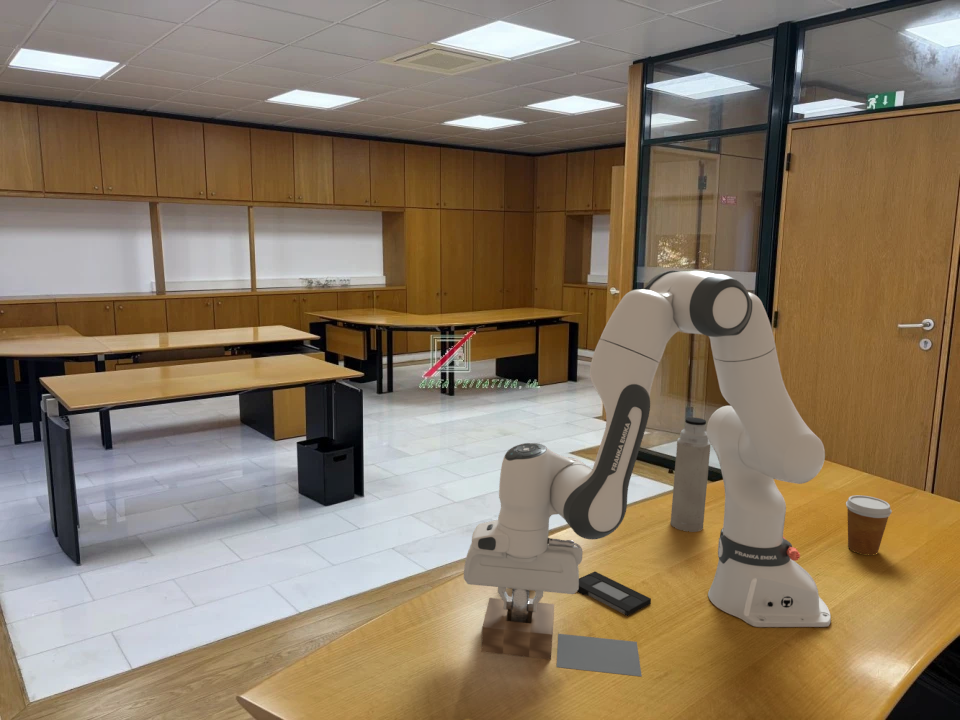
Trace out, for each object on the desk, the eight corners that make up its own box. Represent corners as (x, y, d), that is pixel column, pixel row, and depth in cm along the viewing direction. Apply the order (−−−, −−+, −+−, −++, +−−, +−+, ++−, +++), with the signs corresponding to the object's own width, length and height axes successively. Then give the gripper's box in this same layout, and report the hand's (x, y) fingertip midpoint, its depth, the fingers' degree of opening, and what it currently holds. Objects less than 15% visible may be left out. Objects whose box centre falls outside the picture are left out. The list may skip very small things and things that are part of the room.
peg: (528, 627, 124) (530, 576, 122) (526, 636, 121) (529, 584, 120) (511, 625, 125) (513, 574, 123) (509, 635, 122) (511, 582, 120)
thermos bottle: (675, 516, 181) (684, 413, 176) (706, 523, 177) (716, 418, 172) (666, 526, 175) (675, 419, 170) (698, 534, 170) (707, 425, 166)
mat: (636, 643, 124) (636, 641, 123) (641, 678, 114) (641, 676, 114) (558, 635, 125) (558, 633, 125) (556, 669, 116) (556, 666, 116)
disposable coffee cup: (842, 553, 162) (848, 505, 160) (838, 538, 171) (844, 492, 169) (888, 561, 159) (895, 512, 156) (882, 545, 167) (888, 498, 165)
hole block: (553, 629, 127) (554, 604, 127) (550, 661, 118) (552, 634, 117) (488, 622, 129) (489, 597, 128) (481, 653, 119) (482, 627, 118)
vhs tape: (626, 620, 132) (627, 611, 132) (570, 590, 143) (571, 581, 142) (650, 607, 137) (651, 598, 136) (594, 580, 147) (594, 571, 147)
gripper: (583, 533, 122) (579, 605, 124) (468, 524, 124) (466, 594, 127) (583, 549, 115) (578, 625, 118) (462, 539, 118) (461, 613, 121)
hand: (519, 609), depth 122 cm, fingers closed on peg, 3 cm apart
